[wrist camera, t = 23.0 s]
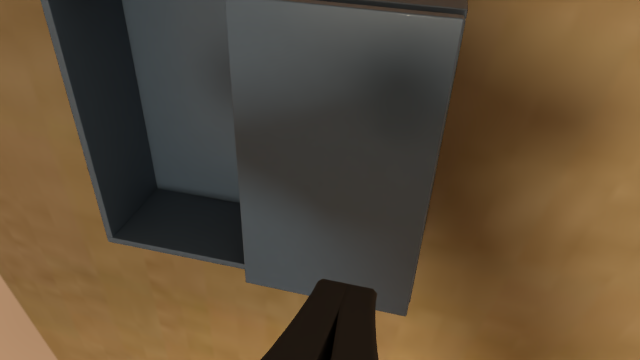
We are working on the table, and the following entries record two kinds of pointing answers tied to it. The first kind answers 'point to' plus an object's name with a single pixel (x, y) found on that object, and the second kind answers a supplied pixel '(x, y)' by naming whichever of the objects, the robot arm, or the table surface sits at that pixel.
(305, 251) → the flap
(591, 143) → the table surface
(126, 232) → the carton
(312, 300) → the robot arm
